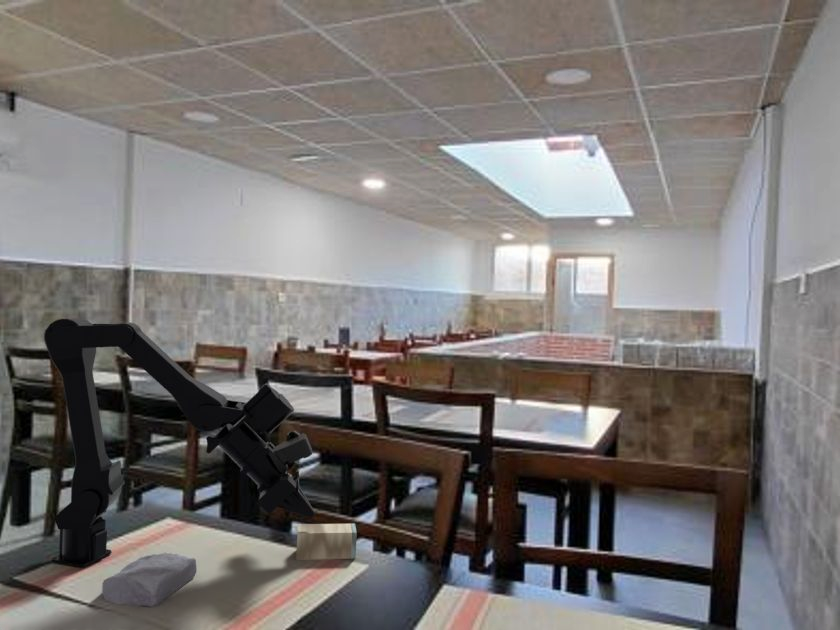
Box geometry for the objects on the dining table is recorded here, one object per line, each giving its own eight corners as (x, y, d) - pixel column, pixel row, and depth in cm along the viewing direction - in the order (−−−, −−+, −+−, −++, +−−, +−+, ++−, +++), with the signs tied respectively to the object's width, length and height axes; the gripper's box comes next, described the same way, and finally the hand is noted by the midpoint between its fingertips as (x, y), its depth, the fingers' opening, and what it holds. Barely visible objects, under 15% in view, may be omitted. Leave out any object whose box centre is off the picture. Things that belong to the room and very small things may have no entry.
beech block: (297, 533, 109) (356, 532, 111) (298, 524, 114) (354, 523, 115) (296, 559, 109) (355, 558, 111) (296, 549, 114) (353, 548, 115)
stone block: (95, 614, 92) (158, 609, 90) (91, 580, 92) (153, 574, 90) (146, 583, 103) (202, 578, 102) (142, 553, 104) (198, 547, 102)
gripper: (283, 430, 101) (350, 499, 103) (287, 410, 120) (344, 469, 122) (229, 480, 100) (298, 549, 102) (242, 452, 119) (300, 511, 121)
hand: (313, 515), depth 112 cm, fingers closed
